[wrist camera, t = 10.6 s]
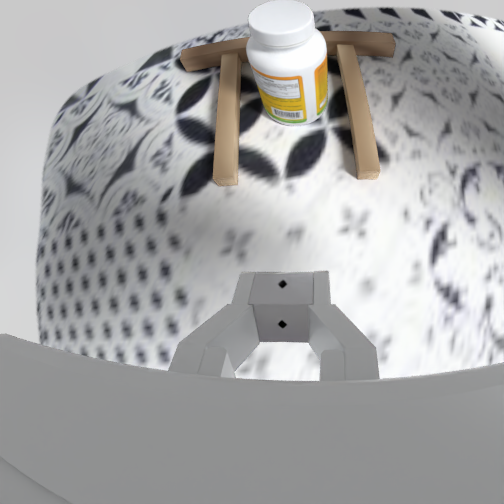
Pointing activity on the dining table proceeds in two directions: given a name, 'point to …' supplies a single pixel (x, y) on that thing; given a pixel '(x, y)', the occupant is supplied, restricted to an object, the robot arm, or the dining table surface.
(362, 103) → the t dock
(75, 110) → the dining table surface
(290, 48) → the supplement bottle
